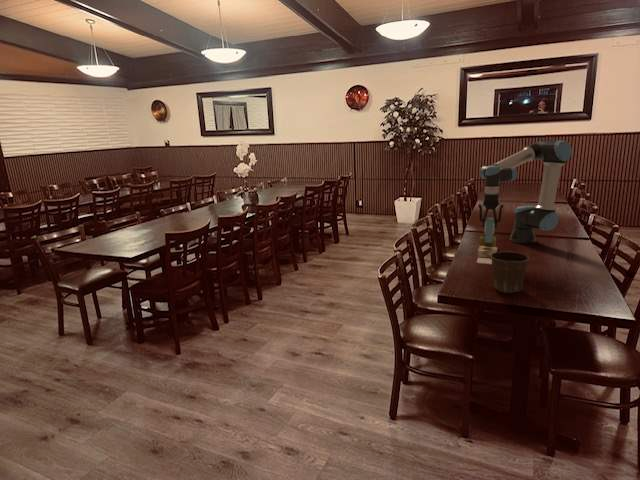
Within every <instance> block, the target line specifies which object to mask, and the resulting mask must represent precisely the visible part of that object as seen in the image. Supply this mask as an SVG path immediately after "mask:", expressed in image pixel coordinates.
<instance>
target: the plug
mask: <svg viewBox="0 0 640 480" xmlns="http://www.w3.org/2000/svg"><path fill="white" fill-rule="evenodd" d="M485 222H486V233H485V235H484V236H485V242H487V243H492V240H493V237H494V234H493V222H495V221H494V217H486V220H485Z"/></svg>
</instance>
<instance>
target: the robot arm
mask: <svg viewBox="0 0 640 480" xmlns="http://www.w3.org/2000/svg"><path fill="white" fill-rule="evenodd" d="M572 155H573V147H572V145H571V144H570V142H569V141H567V140H561V139H560V140H559V139H558V140H557V139H556V140H555V139H552V140H550V139H548V140H547V139H544V140H538V141H536V142H533V143H531V144H528V145H527V146H524V147H522V149H521V150H520V151H518V152H516V153H513V154H512V155H509V156H508V157H506V158H504V159H501V160H499V161H498V162H496V163H493V164H491V165H486V166H485V165H483V166H482V167H480V169H479V173H478V174H479V176H480V178H481V179H485V181H484V195H483V196H484V198H483V202H482V203H478V208H479V221H480V222H482V228H483V229H484V230H483V232H484V234H486V218H487V216H488V212H489V210H491V211H492V214H493V218H494V222H493V235H494V234H495V229H497V226H498V223H500V222H501V221H502V220H501V219H502V211H503V208H504V204H503V203H502V204H501V203H500V201H499V196H500V195H499V192H500V183H502V182H503V183H505V182H512V181H515V180H516V179H517V178H518V170H517V169H516V168H517V167H519V166H522V164H524V163H527V162H533V161H535V160H542V163H543V165H544V170H543V176H542V181H541V186H540V187H541V188H540V192H539V197H538V202H537V205H522V206H521V205H520V206H517V207H516V208H515V211H514V219H513V220H514V221H513V222H514V223H513V229H512V232H511V234H510V236H509V241H511V242H512V243H517V244H534V243H536V235H535V231H534V229H537V230H540V231H548V232H549V231H551V230H553V229H554V228H556V226H557V225H558V223H559V221H560V220H559V219H560V216H559V214H557V213H556V211H557V209H556V207H555V202H556V196H557V191H558V185H559V180H560V175H561V171H562V167H563V166H564V165H566V161H568V160H569V159H570V158H571V156H572ZM483 207H484V208H485V212H484V215H483ZM497 207H498V208H499V210H498V217H497V211H496V208H497Z"/></svg>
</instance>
